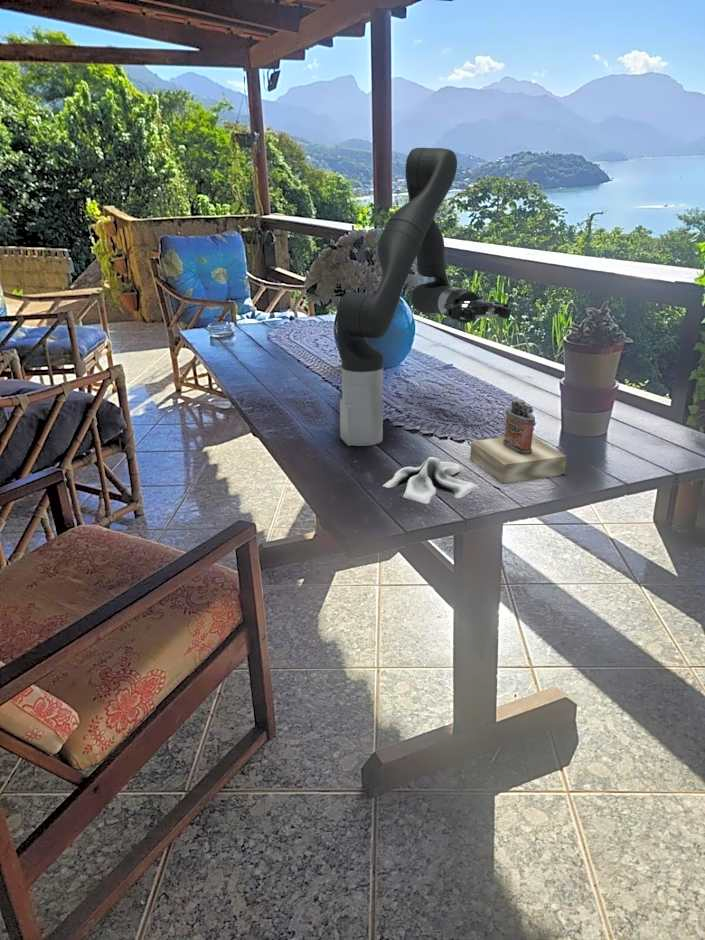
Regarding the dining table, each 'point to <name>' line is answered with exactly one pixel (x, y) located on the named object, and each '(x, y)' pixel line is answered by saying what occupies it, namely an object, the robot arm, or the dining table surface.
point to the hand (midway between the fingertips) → (491, 314)
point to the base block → (517, 460)
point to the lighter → (519, 428)
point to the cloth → (431, 480)
